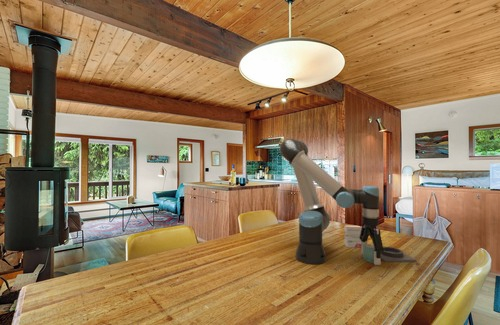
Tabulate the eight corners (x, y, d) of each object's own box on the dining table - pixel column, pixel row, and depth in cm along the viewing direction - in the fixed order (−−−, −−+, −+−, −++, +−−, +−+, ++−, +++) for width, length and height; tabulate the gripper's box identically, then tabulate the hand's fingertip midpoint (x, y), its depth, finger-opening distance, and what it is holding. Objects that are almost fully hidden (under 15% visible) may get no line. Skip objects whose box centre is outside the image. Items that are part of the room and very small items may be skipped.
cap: (367, 262, 121) (367, 248, 121) (361, 257, 127) (361, 243, 127) (380, 262, 121) (380, 248, 121) (373, 257, 127) (373, 243, 127)
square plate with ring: (384, 261, 122) (384, 255, 122) (368, 250, 138) (368, 245, 138) (416, 261, 122) (416, 255, 122) (396, 250, 138) (396, 245, 138)
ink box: (358, 245, 147) (358, 225, 147) (361, 247, 142) (361, 227, 142) (343, 244, 148) (344, 224, 148) (346, 247, 143) (346, 226, 143)
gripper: (392, 222, 112) (392, 269, 112) (366, 211, 136) (366, 250, 136) (375, 222, 112) (375, 269, 112) (352, 211, 136) (352, 250, 136)
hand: (370, 259), depth 124 cm, fingers open, 12 cm apart
